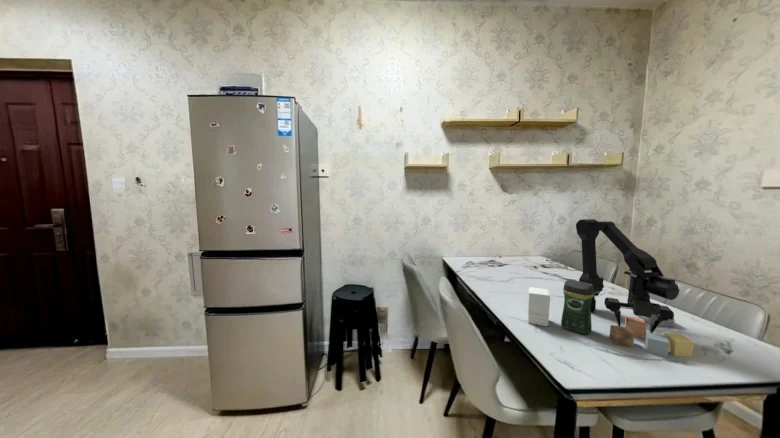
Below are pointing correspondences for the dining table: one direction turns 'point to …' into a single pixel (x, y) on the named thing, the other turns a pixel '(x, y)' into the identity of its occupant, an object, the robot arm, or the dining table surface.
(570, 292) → the coffee jar
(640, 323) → the terracotta cube
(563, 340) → the dining table surface
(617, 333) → the walnut cube
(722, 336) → the dining table surface
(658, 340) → the slate cube
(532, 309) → the supplement box
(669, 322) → the stone block
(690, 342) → the ochre cube
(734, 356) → the dining table surface
